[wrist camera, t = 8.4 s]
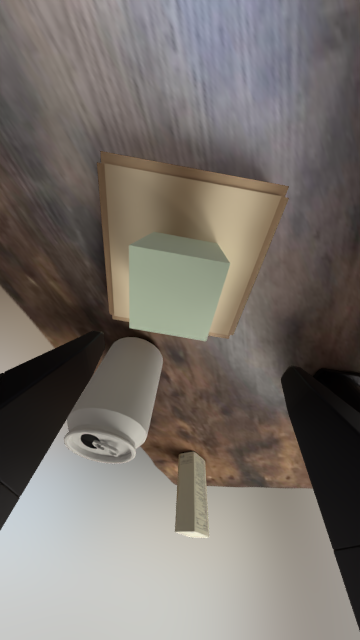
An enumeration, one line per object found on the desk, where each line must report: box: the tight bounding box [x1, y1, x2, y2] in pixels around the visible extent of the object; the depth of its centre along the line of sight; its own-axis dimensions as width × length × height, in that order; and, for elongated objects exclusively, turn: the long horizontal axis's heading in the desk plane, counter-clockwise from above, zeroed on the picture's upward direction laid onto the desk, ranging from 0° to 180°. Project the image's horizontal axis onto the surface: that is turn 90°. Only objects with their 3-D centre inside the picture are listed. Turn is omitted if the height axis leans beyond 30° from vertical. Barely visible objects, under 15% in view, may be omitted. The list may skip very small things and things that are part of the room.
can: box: [64, 337, 163, 464], centre depth 20 cm, size 8×8×12 cm
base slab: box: [97, 151, 289, 339], centre depth 16 cm, size 13×13×3 cm
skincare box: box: [175, 451, 209, 538], centre depth 37 cm, size 6×4×12 cm
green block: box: [129, 232, 230, 341], centre depth 12 cm, size 5×5×6 cm
